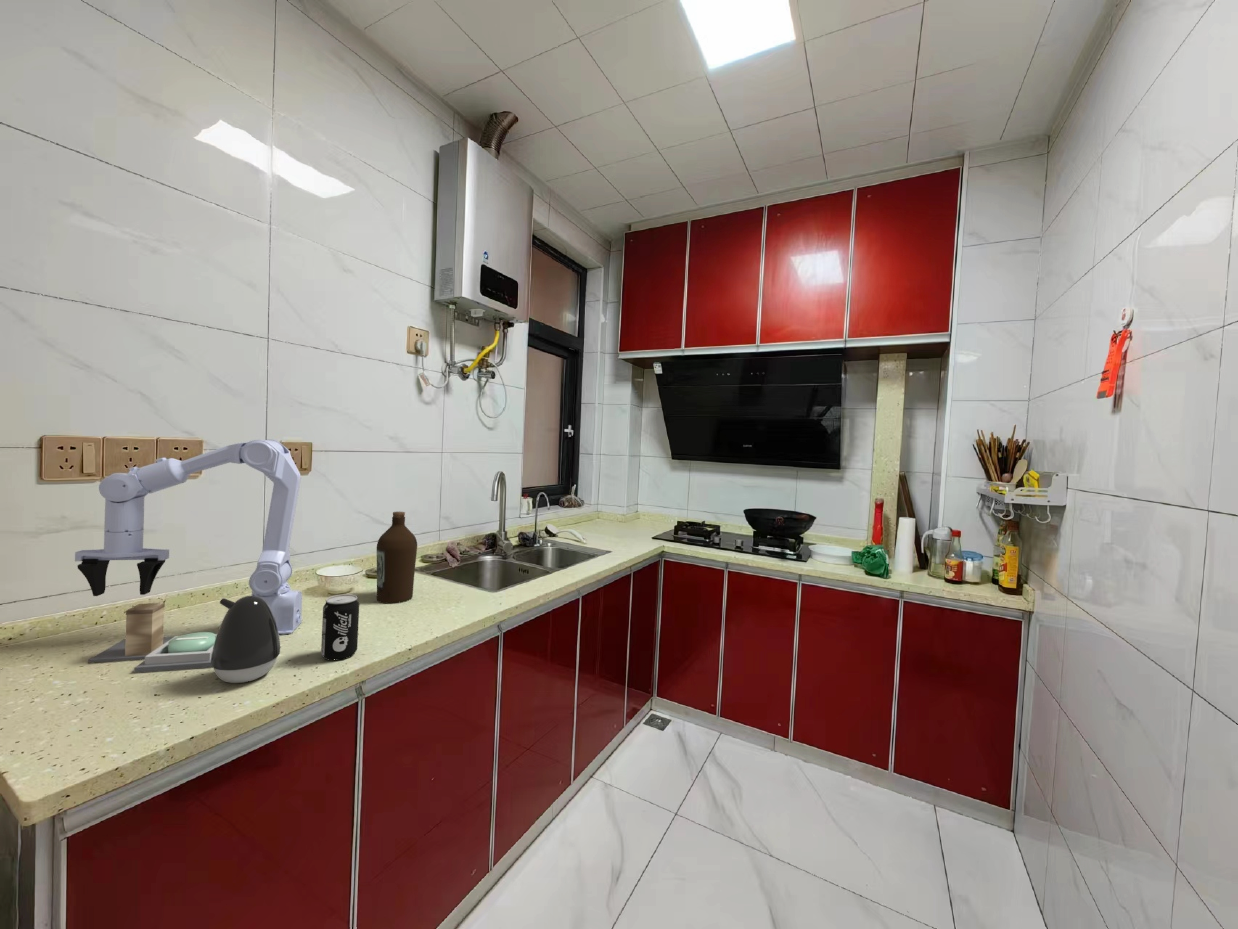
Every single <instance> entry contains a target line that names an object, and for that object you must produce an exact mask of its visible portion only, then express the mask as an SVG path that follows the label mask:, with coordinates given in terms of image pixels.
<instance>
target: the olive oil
mask: <svg viewBox="0 0 1238 929" xmlns="http://www.w3.org/2000/svg"><path fill="white" fill-rule="evenodd" d="M405 514H406V512H405V511H393V512H392V517H391V519H392V520H391V521H392V522H391V526H389V527H388V529H387V530H385V531H384V533H382V534H381V536H380V537H379V538H378V540H377V544H376V600H377V601H378V602H379V603H383V604H398V603H399V602H400V603H403V601H405V602H408V601H410V600H411V599H412V598H413V596H414V595H413V594H414V582H415V573H416V572H415V571H416V561H417V554H418V553H417V552H418V542H417V538H416V536H415V535H414V534H413V532H412V531H411V530H409V528H408V527H407V526H406V524H405V523H406V516H405ZM409 599H410V600H409ZM407 600H408V601H407Z"/></svg>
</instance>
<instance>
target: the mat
mask: <svg viewBox="0 0 1238 929" xmlns="http://www.w3.org/2000/svg"><path fill="white" fill-rule="evenodd" d="M174 637H175V636H163V644H165V643H166V642H168V641H169V640H171V639H172V638H174ZM125 643H126V638H123V639H122V640H120V641H118V642H116V643H115V644H113V645H111V646H109V647H108V648H106V649H105V650H103V651H101V652H99V653H98V654H96V655H94V656H92V657H91V658H89V659H88V660H87V663H88V664H93V663H92V662H99V663H111V662H113V661H114V662H126V661H125V660H130V661H141V660H142V659H145V657H146V656H147V655H136V656H125ZM140 659H141V660H140ZM122 660H124V661H122ZM110 661H111V662H110ZM142 661H143V660H142ZM114 662H113V663H114Z"/></svg>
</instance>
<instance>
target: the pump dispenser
mask: <svg viewBox="0 0 1238 929" xmlns="http://www.w3.org/2000/svg"><path fill="white" fill-rule="evenodd" d="M219 604H221V606H223V607H224V608H226V609H227V611H226V613H225V615H224V617H223V619H222V620H221V622H220V625H219V628H218V631H217V633H216V634H217V635H216V638H215V642H214V646H213V650H212V655H211V666H212V667H213V668H212V669H213V671H214V673H215V675H216V676H217V678H219V679H220V680H221V681H223V682H225V683H231V684H243V683H247V682H248V681H249V682H251V681H254V680H257V679H259V678H262V677H263V676H264V675H267V673H269V671H271V669H272V668H273V667H274V666H275V664H276V662H277V659H278V657H279V656H280V654H281V641H280V640H281V639H280V634H279V633H278V628H277V624H276V621H275V618H274V616H273V613H272V611H271V609H270V607H269V606H268V604H267V603H266V602H265V601H264V600H263V599H262V598H260V597H258V596H252V595H246V596H243V597H241V598H239V599H236V600H235V601H232V600H230V599H227V598H221V599H220V600H219Z"/></svg>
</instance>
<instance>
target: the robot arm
mask: <svg viewBox="0 0 1238 929" xmlns="http://www.w3.org/2000/svg"><path fill="white" fill-rule="evenodd" d="M229 463H231V464H238V465H241V464H246V465H247V466H249V467H250V468H251V469H254V470H256V471H258V472H261V473H263V475H265V476H266V477H267V478H268V479H269V480H270V481H271V482H272V483H273V485H272V486H273V487H272V492H271V498H270V505H269V510H268V517H267V522H266V528H265V534H264V540H263V546H262V551H261V554H260V556H259V558H258V559H257V564H256V567H255V570H254V571H253V572H252V574H250V576H249V580H248V585H249V586H248V587H249V588H250V589H251V596H258V597H260V598H262V599H263V600H264V601H265V602H266V603H267V604H268V606H269V607H270V609H271V611H272V613H273V616H274V618H275V621H276V624H277V628H278V633H279V635H288V634H289V635H291V634H292V633H293V632H294V631H295V630H297V628H298V627H299V626H300V624H302V621H303V620H302V609H303V608H302V607H303V594H302V593H303V592H302V591H301V590H294V589H291V586H290V584H289V583H288V581H289V580H290V578H291V577H292V575H293V567H292V566H293V565H292V564H291V561H290V560H291V553H290V545H291V538H292V533H293V527H294V520H295V514H296V508H297V504H298V503H297V502H298V498H299V497H298V496H299V491H300V484H301V479H302V477H301V472H300V470H299V469H298V467H297V465H296V463H295V461H294V460H293V457H292V456H291V451H290V449H288V448H287V447H286V446H285V445H284V444H282V443H281V442H280V441H278V440H275V439H264V440H263V439H252V440H250V441H246V442H244V441H243V442H238V443H234V444H229V445H226V446H223V447H219V448H217V449H214V450H211V451H207V452H205V453H201V454H199V455H196V456H193V457H190V458H188V459H185V460H179V459H176V458H173V457H170V458H167V457H161V458H157V459H155V462H154V463H151V464H147V465H144V466H141V467H138V466H133V467H129V468H128V472H124V473H123V472H116V473H115V472H114V473H112V474H110V475H108V476H106V477H104V478H103V479H102V480H101V481H100V483H99V484H98V491H99V493H100V495H101V496H102V498H104V499H105V500H104V524H103V526H104V527H103V528H104V529H103V531H104V533H103V534H104V535H103V549H102V548H100V549H82V550H78V551H75V552H74V562H81V563H79V564H77V569H78V570H79V571H80V572H81V574H82V575H83V576H84V578H86V581H87V582H88V585H89V587H90V590H91V592H92V596H93V597H98V596H101V595H103V594H105V591H106V587H107V586H106V582H107V578H106V577H107V571H108V567H109V564H110V562H111V561H140V562H137V563H136V566H137V570H138V574H139V594H140V596H145V595H147V594H150V592H151V590H152V587H153V583H154V581H155V580H156V576H157V574H159V571H160V570H161V568H162V566H164V564H165V563H166V560H167V559H169V558H170V549H159V548H147V547H146V548H145V547H144V530H145V528H144V524H145V497H147V495H148V494H154V493H156V492H159V491H162V490H163V491H164V490H166V489H168V488H171V487H174V486H178V485H181V484H184V483H186V482H187V481H188V479H189V477H190V476H191V475H192V474H195V473H196V474H197V473H199V472H202V471H206V470H209V469H213V468H215V467H219V466H222V465H226V464H229Z"/></svg>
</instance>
